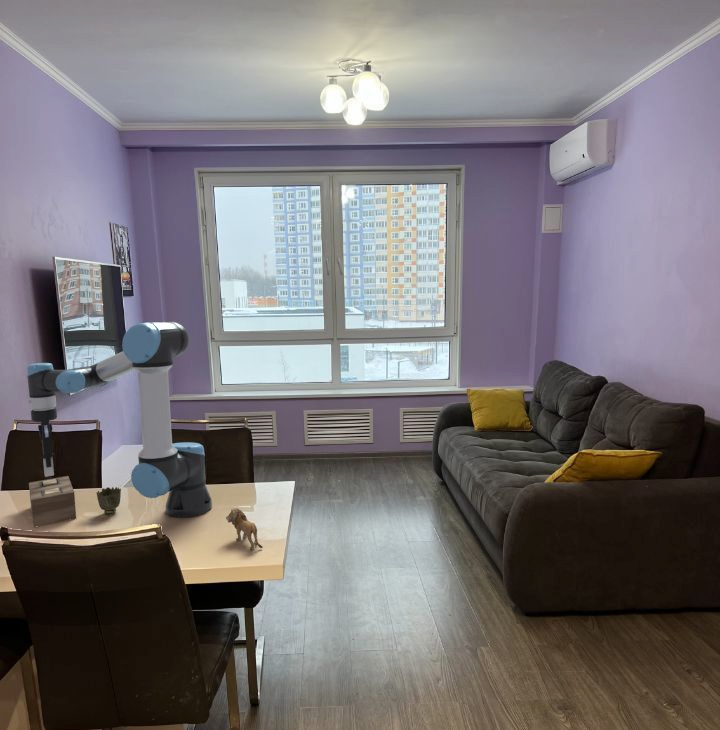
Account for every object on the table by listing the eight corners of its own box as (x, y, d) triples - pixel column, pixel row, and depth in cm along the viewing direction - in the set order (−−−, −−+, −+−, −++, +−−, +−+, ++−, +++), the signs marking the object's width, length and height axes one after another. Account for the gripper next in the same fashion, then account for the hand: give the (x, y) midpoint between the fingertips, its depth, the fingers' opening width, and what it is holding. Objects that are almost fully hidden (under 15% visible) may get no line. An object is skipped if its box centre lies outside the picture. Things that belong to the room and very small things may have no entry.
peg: (58, 504, 179) (56, 482, 178) (45, 507, 177) (43, 484, 176) (57, 500, 182) (55, 479, 182) (44, 503, 180) (42, 481, 179)
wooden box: (76, 518, 171) (74, 491, 170) (33, 527, 164) (31, 499, 163) (70, 499, 187) (68, 475, 186) (31, 507, 181) (28, 481, 180)
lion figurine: (224, 538, 156) (223, 509, 154) (238, 532, 160) (237, 504, 159) (255, 552, 146) (254, 522, 145) (270, 546, 150) (269, 516, 149)
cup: (110, 519, 170) (108, 495, 169) (93, 516, 173) (91, 493, 172) (127, 510, 177) (125, 488, 176) (110, 507, 180) (108, 485, 179)
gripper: (29, 406, 179) (35, 472, 182) (31, 413, 168) (37, 482, 171) (54, 404, 183) (60, 468, 186) (57, 410, 172) (63, 478, 175)
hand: (49, 475), depth 178 cm, fingers closed
